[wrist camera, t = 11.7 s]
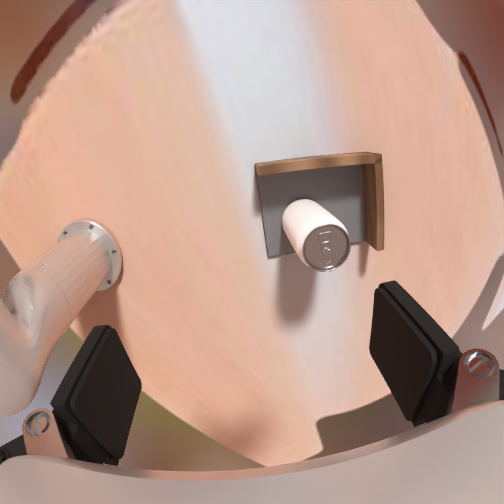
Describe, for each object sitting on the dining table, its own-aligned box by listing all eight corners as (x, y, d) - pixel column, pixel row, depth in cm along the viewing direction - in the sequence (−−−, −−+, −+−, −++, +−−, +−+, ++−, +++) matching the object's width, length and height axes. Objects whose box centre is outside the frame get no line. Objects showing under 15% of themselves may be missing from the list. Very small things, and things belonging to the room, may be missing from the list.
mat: (268, 255, 44) (268, 256, 44) (254, 163, 39) (254, 163, 39) (370, 238, 44) (371, 239, 44) (366, 152, 39) (367, 152, 39)
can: (285, 244, 43) (303, 281, 32) (277, 203, 41) (294, 226, 30) (326, 235, 43) (356, 268, 32) (320, 194, 41) (351, 214, 30)
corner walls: (268, 255, 44) (272, 269, 40) (254, 163, 39) (257, 166, 35) (370, 238, 44) (383, 249, 40) (366, 152, 39) (381, 154, 35)
